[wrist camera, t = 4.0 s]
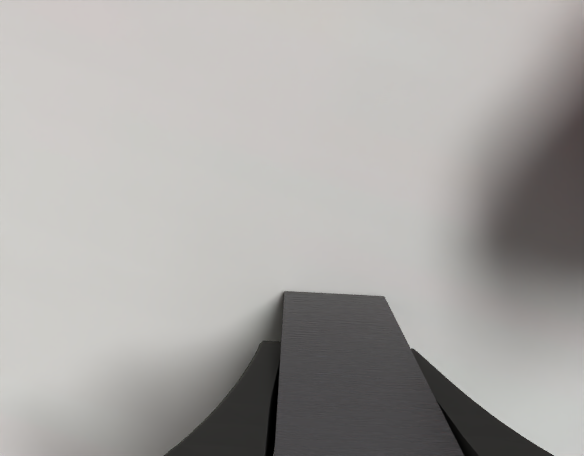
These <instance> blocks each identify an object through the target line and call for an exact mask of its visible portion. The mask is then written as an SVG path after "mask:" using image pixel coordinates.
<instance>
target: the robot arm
mask: <svg viewBox="0 0 584 456" xmlns="http://www.w3.org/2000/svg"><path fill="white" fill-rule="evenodd" d="M411 351H412V353H413V355H414V357H415V359H416V361H417V363H418V365H419V367H420V369H421V371H422V373H423V375H424V377H425V379H426V381H427V383H428V385H429V387H430V389H431V391H432V393H433V395H434V397H435V399H436V401H437V403H438V405H439V407H440V409H441V411H442V413H443V415H444V417H445V419H446V421H447V423H448V425H449V427H450V429H451V431H452V433H453V435H454V437H455V439H456V441H457V443H458V445H459V447H460V448H461V450H462V452H463V454H464V456H554V455H552V454H550V453H549V452H547V451H545V450H543V449H542V448H540V447H538V446H537V445H535V444H534V443H532V442H530V441H529V440H527V439H526V438H524V437H523V436H521V435H520V434H518V433H517V432H515V431H514V430H512V429H511V428H509V427H508V426H506V425H505V424H504V423H502V422H501V421H499V420H498V419H496V418H495V417H494V416H492V415H491V414H490V413H488V412H487V411H486V410H485V409H483V408H482V407H481V406H479V405H478V404H477V403H476V402H474V401H473V400H472V399H471V398H469V397H468V396H467V395H466V394H464V393H463V392H462V391H461V390H460V389H459V388H457V387H456V386H455V385H454V384H453V383H452V382H450V381H449V380H448V379H447V378H446V377H445V376H444V375H442V374H441V373H440V372H439V371H438V370H437V369H436V368H435V367H434V366H432V365H431V364H430V363H429V362H428V361H427V360H426V359H425V358H424V357H422V356H421V355H420V354H419V353H418V352H417V351H415V350H414V349H411ZM280 355H281V342H272V341H263V342H262V343H261V344H260V345H259V348H258V350H257V352H256V354H255V356H254V357H253V359H252V361H251V362H250V364H249V366H248V367H247V369H246V370H245V372H244V373H243V375H242V376H241V378H240V379H239V381H238V382H237V383H236V385H235V386H234V387H233V388H232V390H231V391H230V392H229V394H228V395H227V396H226V397H225V399H224V400H223V401H222V402H221V403H220V404H219V406H218V407H217V408H216V409H215V410H214V411H213V412H212V413H211V414H210V415H209V416H208V417H207V418H206V419H205V420H204V421H203V422H202V423H201V424H200V425H199V426H198V427H197V428H196V429H195V430H194V431H193V432H192V433H191V434H190V435H188V436H187V437H186V438H185V439H184V440H183V441H182V442H180V443H179V444H178V445H177V446H175V447H174V448H173V449H172V450H170V451H169V452H168V453H166V454H165V455H164V456H273V453H274V447H275V437H276V421H277V404H278V388H279V371H280Z"/></svg>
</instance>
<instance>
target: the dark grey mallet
mask: <svg viewBox="0 0 584 456" xmlns="http://www.w3.org/2000/svg"><path fill="white" fill-rule="evenodd" d="M274 456H464V454H463V452H462V450H461V448H460V447H459V445H458V443H457V441H456V439H455V437H454V435H453V433H452V431H451V429H450V427H449V425H448V423H447V421H446V419H445V417H444V415H443V413H442V411H441V409H440V407H439V405H438V403H437V401H436V399H435V397H434V395H433V393H432V391H431V389H430V387H429V385H428V383H427V381H426V379H425V377H424V375H423V373H422V371H421V369H420V367H419V365H418V363H417V361H416V359H415V357H414V355H413V353H412V351H411V349H410V347H409V345H408V343H407V341H406V339H405V337H404V335H403V333H402V331H401V329H400V327H399V325H398V323H397V321H396V319H395V317H394V315H393V313H392V311H391V309H390V307H389V305H388V303H387V301H386V299H385V297H384V296H365V295H346V294H327V293H308V292H289V291H284V305H283V322H282V338H281V355H280V371H279V388H278V404H277V421H276V437H275V454H274Z"/></svg>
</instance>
